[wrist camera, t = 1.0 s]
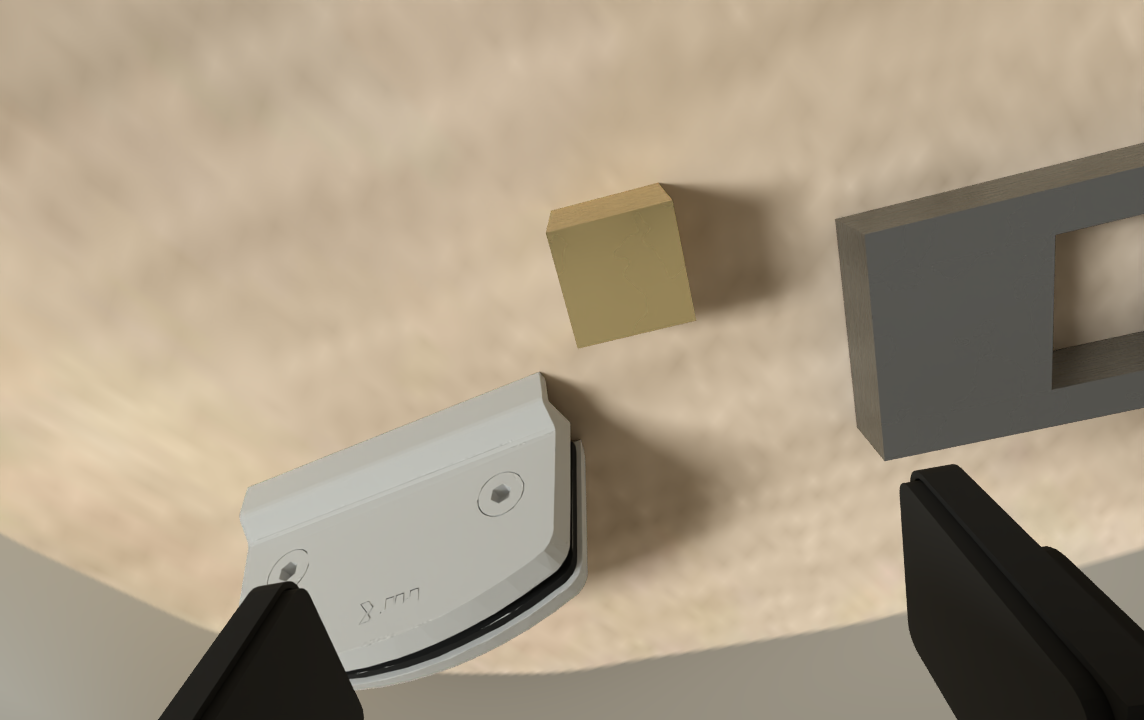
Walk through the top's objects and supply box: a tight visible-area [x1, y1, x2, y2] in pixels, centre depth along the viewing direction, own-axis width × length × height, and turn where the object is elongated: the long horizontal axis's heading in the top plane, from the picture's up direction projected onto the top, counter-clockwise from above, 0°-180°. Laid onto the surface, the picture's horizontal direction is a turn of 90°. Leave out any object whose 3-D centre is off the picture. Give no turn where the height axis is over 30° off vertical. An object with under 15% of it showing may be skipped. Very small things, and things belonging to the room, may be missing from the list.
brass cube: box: [546, 183, 696, 348], centre depth 25 cm, size 4×4×4 cm
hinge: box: [239, 372, 588, 690], centre depth 29 cm, size 17×5×10 cm, turn 114°
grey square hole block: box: [835, 143, 1144, 461], centre depth 26 cm, size 10×20×3 cm, turn 104°
